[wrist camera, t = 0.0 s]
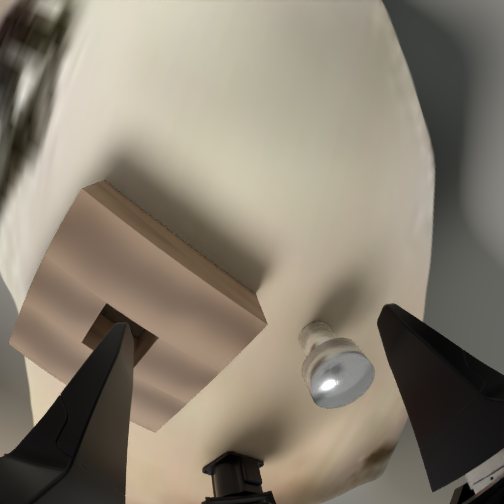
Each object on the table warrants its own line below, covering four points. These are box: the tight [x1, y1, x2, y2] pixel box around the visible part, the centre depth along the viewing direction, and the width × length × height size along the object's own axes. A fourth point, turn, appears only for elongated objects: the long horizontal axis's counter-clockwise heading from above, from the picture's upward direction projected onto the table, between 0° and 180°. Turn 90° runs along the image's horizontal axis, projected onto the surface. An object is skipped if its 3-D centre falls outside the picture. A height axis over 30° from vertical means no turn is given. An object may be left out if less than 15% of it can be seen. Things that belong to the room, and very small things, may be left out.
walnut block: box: [9, 180, 268, 432], centre depth 23 cm, size 16×16×5 cm
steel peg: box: [299, 322, 375, 409], centre depth 26 cm, size 6×6×8 cm
